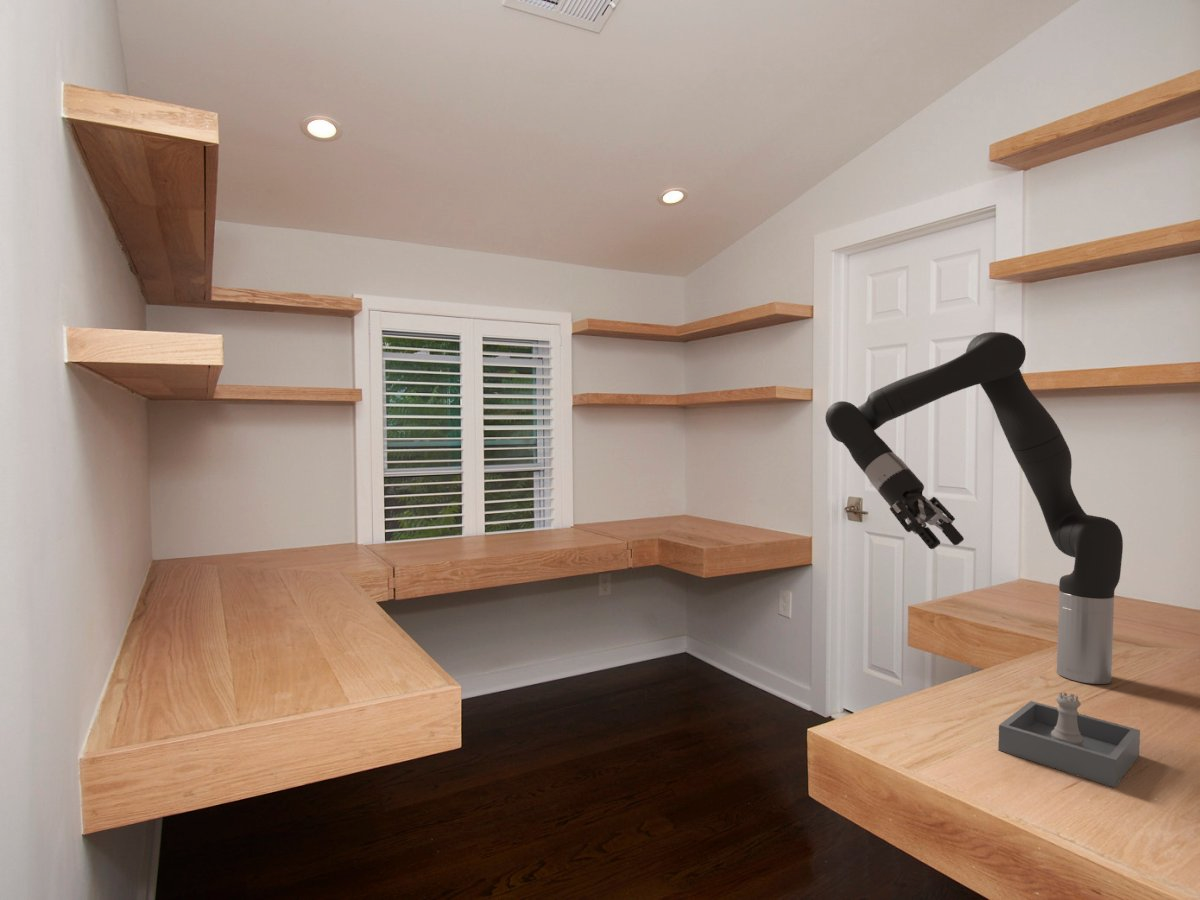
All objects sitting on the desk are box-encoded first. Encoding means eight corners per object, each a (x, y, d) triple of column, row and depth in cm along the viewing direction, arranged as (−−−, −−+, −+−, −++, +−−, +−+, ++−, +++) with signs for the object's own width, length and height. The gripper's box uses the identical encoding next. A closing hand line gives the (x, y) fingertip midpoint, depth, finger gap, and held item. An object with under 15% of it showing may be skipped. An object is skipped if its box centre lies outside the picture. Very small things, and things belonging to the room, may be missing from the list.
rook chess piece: (1043, 742, 109) (1044, 692, 109) (1062, 738, 111) (1064, 688, 110) (1071, 754, 105) (1073, 702, 105) (1091, 750, 107) (1092, 699, 106)
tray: (1030, 723, 118) (1030, 700, 118) (1139, 755, 107) (1140, 730, 107) (998, 750, 108) (999, 725, 108) (1115, 788, 97) (1115, 760, 97)
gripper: (885, 468, 133) (942, 535, 124) (925, 466, 141) (981, 529, 132) (860, 493, 137) (914, 560, 128) (900, 490, 146) (953, 552, 137)
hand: (948, 544), depth 130 cm, fingers open, 8 cm apart
